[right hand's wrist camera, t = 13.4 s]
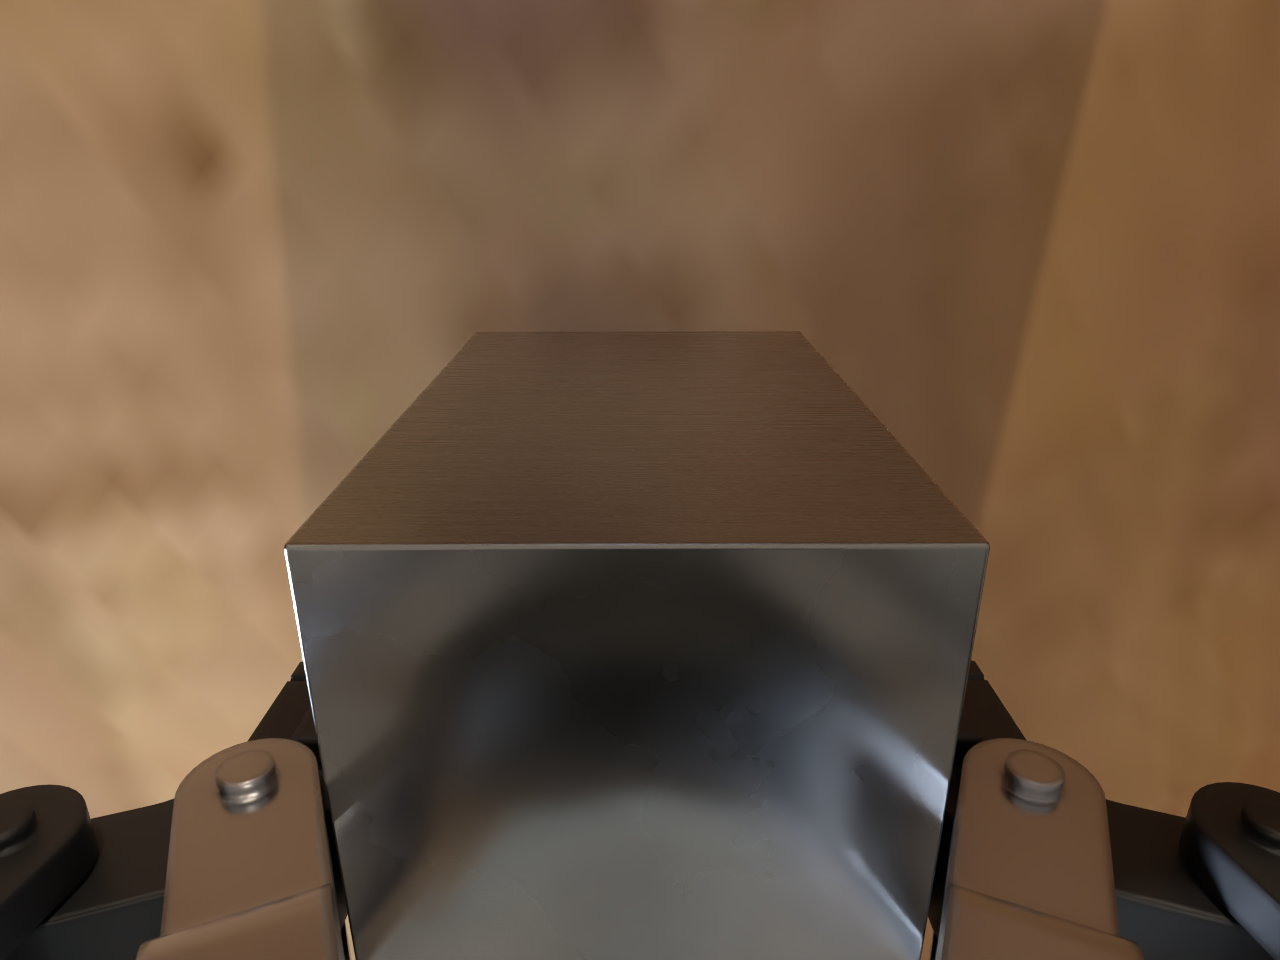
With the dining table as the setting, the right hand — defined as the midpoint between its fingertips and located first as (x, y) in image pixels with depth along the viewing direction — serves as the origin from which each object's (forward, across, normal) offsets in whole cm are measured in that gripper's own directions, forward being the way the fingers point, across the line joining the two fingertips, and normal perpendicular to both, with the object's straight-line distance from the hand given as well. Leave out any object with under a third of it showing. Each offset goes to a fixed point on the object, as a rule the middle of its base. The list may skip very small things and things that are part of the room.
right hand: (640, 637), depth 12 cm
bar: (+4, 0, -9) cm, 10 cm away
